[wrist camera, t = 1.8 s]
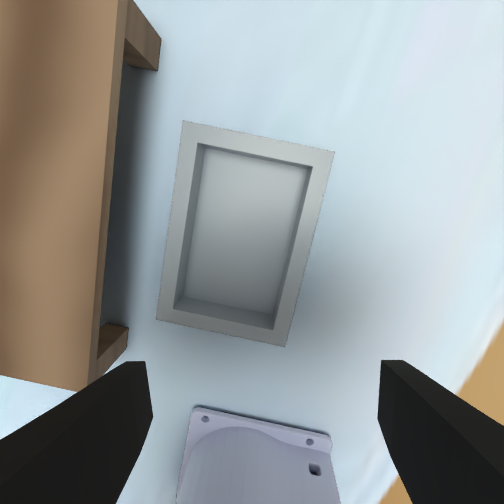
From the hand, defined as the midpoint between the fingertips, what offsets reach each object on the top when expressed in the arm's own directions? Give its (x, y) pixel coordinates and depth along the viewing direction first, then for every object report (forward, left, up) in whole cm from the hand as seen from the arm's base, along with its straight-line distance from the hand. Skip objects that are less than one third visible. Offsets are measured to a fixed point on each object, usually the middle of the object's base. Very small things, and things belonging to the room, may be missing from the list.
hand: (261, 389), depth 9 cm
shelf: (+12, -3, -9) cm, 15 cm away
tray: (+2, -3, -9) cm, 10 cm away
